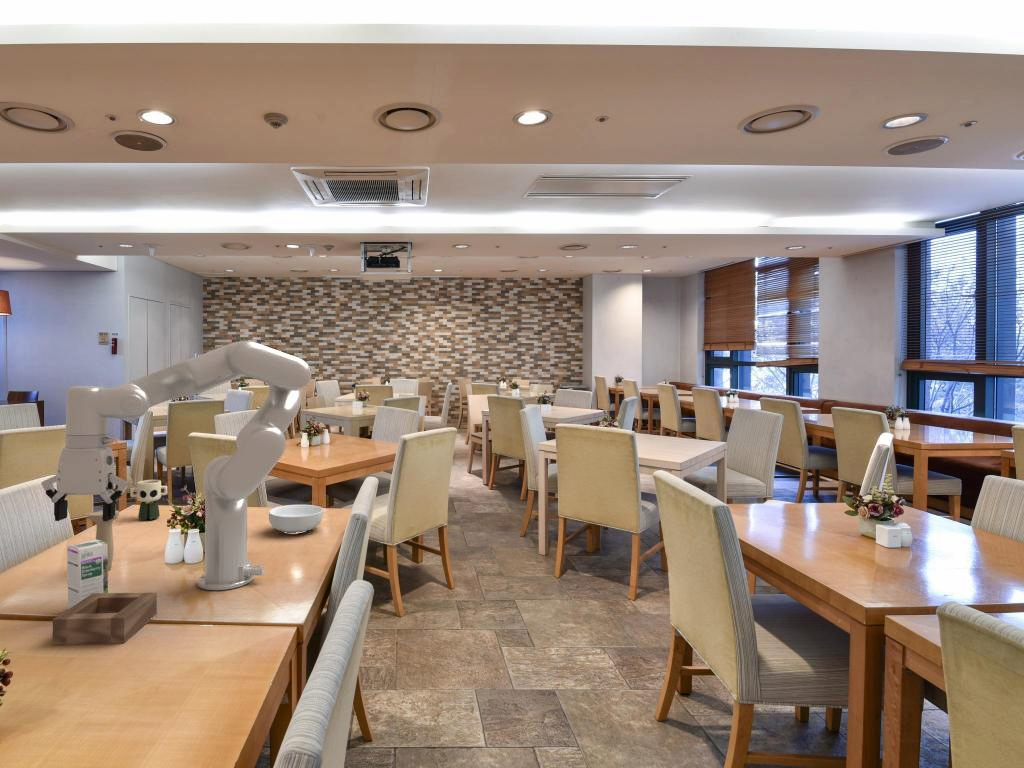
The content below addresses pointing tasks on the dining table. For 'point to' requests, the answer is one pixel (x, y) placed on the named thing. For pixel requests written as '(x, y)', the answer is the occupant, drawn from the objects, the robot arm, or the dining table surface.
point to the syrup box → (86, 570)
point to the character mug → (148, 498)
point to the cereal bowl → (295, 517)
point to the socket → (104, 618)
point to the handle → (104, 532)
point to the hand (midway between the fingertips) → (84, 519)
